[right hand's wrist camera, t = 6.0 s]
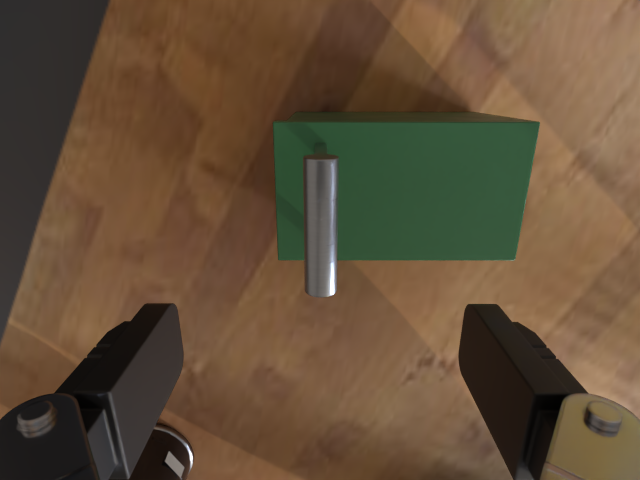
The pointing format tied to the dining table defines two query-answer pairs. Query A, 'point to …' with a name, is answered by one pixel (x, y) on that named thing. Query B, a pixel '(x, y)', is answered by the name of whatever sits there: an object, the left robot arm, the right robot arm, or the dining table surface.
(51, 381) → the dining table surface
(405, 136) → the lid
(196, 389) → the dining table surface
